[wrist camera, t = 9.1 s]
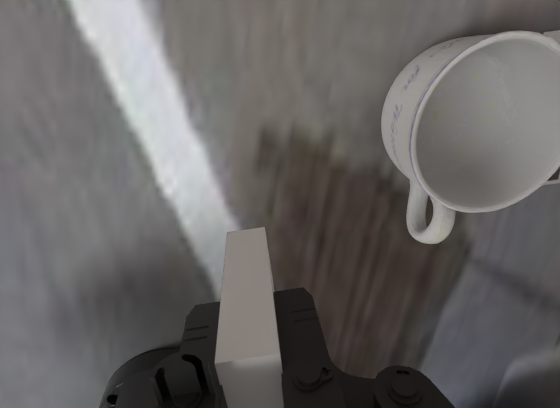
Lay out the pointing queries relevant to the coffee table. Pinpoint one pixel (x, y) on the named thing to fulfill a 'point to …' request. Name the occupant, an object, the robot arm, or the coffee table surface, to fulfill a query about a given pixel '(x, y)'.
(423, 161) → the teacup
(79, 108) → the coffee table surface
